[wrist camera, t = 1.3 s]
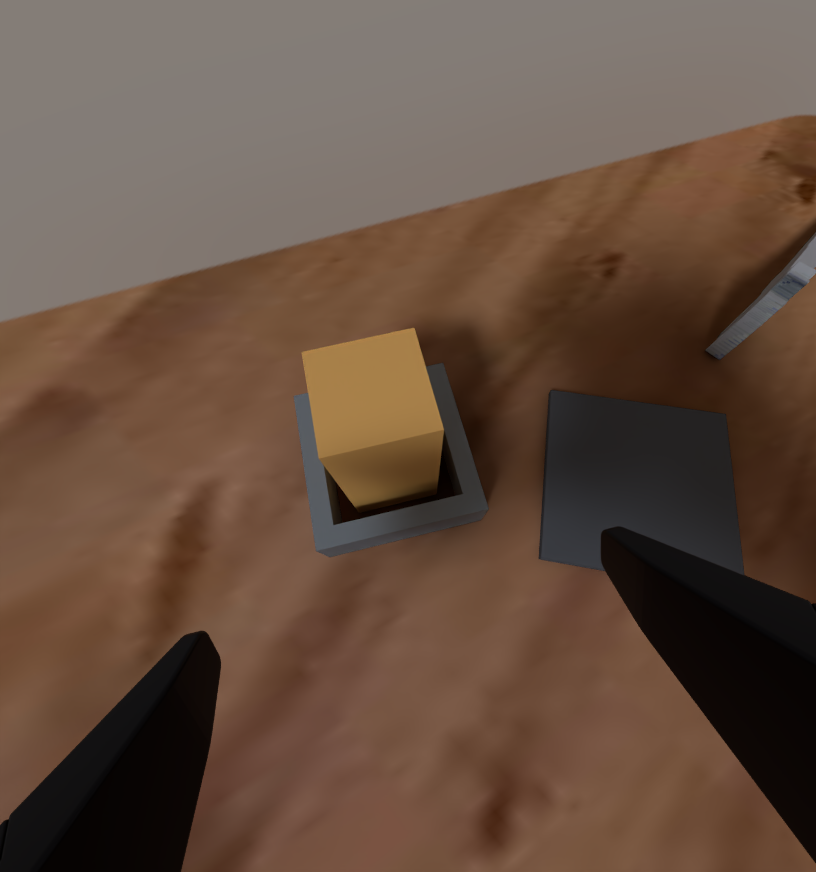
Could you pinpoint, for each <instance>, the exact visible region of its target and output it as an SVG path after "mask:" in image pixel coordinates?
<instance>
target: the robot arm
mask: <svg viewBox="0 0 816 872" xmlns="http://www.w3.org/2000/svg"><path fill="white" fill-rule="evenodd" d="M601 563H602V565H603V568H604V570H605V571H606V573H607V575H608V576H609V578H610V580H611V581H612V583H613V585H614V586H615V588H616V590H617V591H618V593H619V595H620V596H621V598H622V599H623V601H624V603H625V604H626V606H627V608H628V609H629V611H630V613H631V614H632V616H633V618H634V619H635V621H636V622H637V624H638V626H639V627H640V629H641V630H642V632H643V633H644V634H645V636H646V637H647V639H648V640H649V641H650V643H651V644H652V645H653V647H654V648H655V649H656V651H657V652H658V653H659V655H660V656H661V657H662V659H663V660H664V661H665V663H666V664H667V665H668V667H669V668H670V669H671V671H672V672H673V673H674V675H675V676H676V677H677V679H678V680H679V681H680V683H681V684H682V685H683V687H684V688H685V689H686V691H687V692H688V693H689V695H690V696H691V697H692V699H693V700H694V701H695V703H696V704H697V705H698V707H699V708H700V709H701V711H702V712H703V713H704V715H705V716H706V717H707V719H708V720H709V721H710V723H711V724H712V725H713V727H714V728H715V729H716V731H717V732H718V733H719V735H720V736H721V737H722V739H723V740H724V741H725V743H726V744H727V745H728V747H729V748H730V750H731V751H732V752H733V754H734V755H735V756H736V758H737V759H738V760H739V762H740V763H741V764H742V766H743V767H744V768H745V770H746V771H747V772H748V774H749V775H750V776H751V778H752V779H753V780H754V782H755V783H756V784H757V786H758V787H759V788H760V790H761V791H762V792H763V794H764V795H765V796H766V798H767V799H768V800H769V802H770V803H771V804H772V806H773V807H774V808H775V810H776V811H777V812H778V814H779V815H780V816H781V818H782V819H783V820H784V822H785V823H786V824H787V826H788V827H789V828H790V830H791V831H792V832H793V834H794V835H795V836H796V838H797V839H798V840H799V842H800V843H801V844H802V846H803V847H804V848H805V850H806V851H807V852H808V854H809V855H810V856H811V858H812V859H813V860H814V862H815V863H816V604H815V603H813V604H811V603H810V602H809V601H808V600H805V599H803V598H800V597H798V596H795V595H793V594H790V593H788V592H785V591H783V590H780V589H778V588H775V587H772V586H770V585H767V584H765V583H762V582H760V581H757V580H755V579H752V578H750V577H747V576H745V575H742V574H740V573H737V572H735V571H732V570H730V569H727V568H725V567H722V566H720V565H717V564H715V563H712V562H710V561H707V560H704V559H702V558H699V557H697V556H694V555H692V554H689V553H687V552H684V551H682V550H679V549H677V548H674V547H672V546H669V545H667V544H664V543H662V542H659V541H657V540H654V539H652V538H649V537H647V536H644V535H642V534H639V533H637V532H634V531H631V530H629V529H626V528H624V527H621V526H616V527H612V528H608V529H605V530H603V531H602V532H601ZM220 670H221V659H220V656H219V654H218V652H217V650H216V648H215V646H214V644H213V642H212V641H211V639H210V637H209V635H208V634H207V633H206V632H205V631H198V632H194V633H190V634H187V635H184V636H183V637H182V638H181V639H180V640H179V641H178V642H177V643H176V644H175V645H174V646H173V647H172V648H171V649H170V650H169V651H168V652H167V653H166V654H165V655H164V656H163V657H162V658H161V659H160V660H159V661H158V663H157V664H156V665H155V666H154V667H153V668H152V669H151V670H150V671H149V672H148V673H147V674H146V675H145V676H144V677H143V678H142V679H141V680H140V681H139V682H138V683H137V684H136V685H135V686H134V687H133V688H132V689H131V690H130V691H129V693H128V694H127V695H126V696H125V697H124V698H123V699H122V700H121V701H120V702H119V703H118V704H117V705H116V706H115V707H114V708H113V709H112V710H111V711H110V712H109V713H108V714H107V715H106V716H105V717H104V718H103V719H102V720H101V721H100V722H99V724H98V725H97V726H96V727H95V728H94V729H93V730H92V731H91V732H90V733H89V734H88V735H87V736H86V737H85V738H84V739H83V740H82V741H81V742H80V743H79V744H78V745H77V746H76V747H75V748H74V749H73V750H72V751H71V752H70V753H69V755H68V756H67V757H66V758H65V759H64V760H63V761H62V762H61V763H60V764H59V765H58V766H57V767H56V768H55V769H54V770H53V771H52V772H51V773H50V774H49V775H48V776H47V777H46V778H45V779H44V780H43V781H42V782H41V783H40V784H39V786H38V787H37V788H36V789H35V790H34V791H33V792H32V793H31V794H30V795H29V796H28V797H27V798H26V799H25V800H24V801H23V802H22V803H21V804H20V805H19V806H18V807H17V808H16V809H15V810H14V811H13V812H12V813H11V815H10V817H9V819H8V820H5V821H4V822H3V823H2V824H1V825H0V872H181V869H182V865H183V861H184V856H185V852H186V848H187V844H188V839H189V835H190V831H191V826H192V822H193V818H194V813H195V809H196V805H197V801H198V796H199V792H200V788H201V783H202V779H203V775H204V770H205V766H206V762H207V758H208V753H209V748H210V743H211V737H212V731H213V723H214V716H215V708H216V700H217V693H218V685H219V678H220Z"/></svg>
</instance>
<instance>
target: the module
mask: <svg viewBox="0 0 816 872" xmlns="http://www.w3.org/2000/svg"><path fill="white" fill-rule="evenodd" d="M302 357H303V363H304V369H305V376H306V382H307V388H308V395H309V401H310V407H311V413H312V420H313V426H314V432H315V438H316V445H317V451H318V457H319V460H320V461H321V462H322V464H323V465H324V466H325V468H326V469H327V470H328V472H329V473H330V474H331V476H332V477H333V478H334V480H335V481H336V482H337V484H338V485H339V487H340V488H341V489H342V491H343V492H344V493H345V495H346V496H347V497H348V499H349V500H350V501H351V503H352V504H353V505H354V507H355V508H356V509H357V511H358V512H359V513H361V512H365V511H369V510H373V509H377V508H382V507H386V506H390V505H394V504H398V503H402V502H407V501H411V500H415V499H419V498H423V497H427V496H432V495H436V494H437V486H438V478H439V469H440V460H441V452H442V443H443V434H444V428H443V424H442V421H441V417H440V414H439V411H438V407H437V404H436V400H435V397H434V393H433V390H432V387H431V383H430V380H429V376H428V373H427V369H426V366H425V363H424V359H423V356H422V352H421V349H420V346H419V342H418V339H417V335H416V332H415V328H410V329H406V330H401V331H396V332H392V333H387V334H383V335H378V336H373V337H369V338H364V339H360V340H355V341H350V342H346V343H341V344H337V345H332V346H327V347H323V348H318V349H314V350H309V351H304V352H302Z"/></svg>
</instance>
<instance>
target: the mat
mask: <svg viewBox="0 0 816 872" xmlns="http://www.w3.org/2000/svg"><path fill="white" fill-rule="evenodd" d="M616 526H621V527H624V528H626V529H629V530H631V531H634V532H637V533H639V534H642V535H644V536H647V537H649V538H652V539H654V540H657V541H659V542H662V543H664V544H667V545H669V546H672V547H674V548H677V549H679V550H682V551H684V552H687V553H689V554H692V555H694V556H697V557H699V558H702V559H704V560H707V561H710V562H712V563H715V564H717V565H720V566H722V567H725V568H727V569H730V570H732V571H735V572H737V573H740V574H742V575H744V568H743V559H742V551H741V542H740V533H739V524H738V516H737V507H736V498H735V489H734V481H733V472H732V463H731V455H730V446H729V437H728V428H727V420H726V414H722V413H715V412H708V411H700V410H693V409H686V408H679V407H671V406H664V405H657V404H650V403H642V402H635V401H628V400H621V399H613V398H606V397H599V396H591V395H584V394H577V393H570V392H562V391H555V390H551V391H550V393H549V400H548V416H547V432H546V449H545V465H544V481H543V497H542V514H541V530H540V546H539V559H541V560H546V561H552V562H558V563H563V564H569V565H574V566H580V567H585V568H591V569H597V570H602V571H605V570H604V568H603V565H602V563H601V532H602V531H603V530H605V529H608V528H612V527H616Z"/></svg>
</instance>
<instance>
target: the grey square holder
mask: <svg viewBox="0 0 816 872" xmlns="http://www.w3.org/2000/svg"><path fill="white" fill-rule="evenodd" d="M426 369H427V373H428V376H429V380H430V383H431V387H432V390H433V393H434V397H435V400H436V404H437V407H438V411H439V414H440V417H441V421H442V424H443V428H444V434H443V443H442V451H443V454H444V458H445V462H446V465H447V469H448V472H449V476H450V479H451V483H452V486H453V490H454V493H455V496H453V497H449V498H444V499H440V500H436V501H432V502H428V503H424V504H420V505H415V506H411V507H407V508H403V509H399V510H395V511H391V512H386V513H382V514H378V515H374V516H370V517H366V518H362V519H357V520H353V521H349V522H345V523H343V522H342V516H341V510H340V505H339V499H338V493H337V487H336V481H335V480H334V478H333V477H332V476H331V474H330V473H329V472H328V470H327V469H326V468H325V466H324V465H323V464H322V462H321V461H320V460H319V457H318V451H317V445H316V438H315V432H314V426H313V420H312V413H311V407H310V401H309V395H308V393H305V394H301V395H296V396H294V401H295V408H296V415H297V422H298V429H299V436H300V443H301V450H302V457H303V464H304V471H305V478H306V485H307V492H308V499H309V505H310V512H311V519H312V526H313V533H314V540H315V547H316V551H317V552H319V553H322V554H324V555H326V556H328V557H333V556H337V555H341V554H345V553H349V552H353V551H357V550H361V549H365V548H369V547H373V546H377V545H382V544H386V543H390V542H394V541H398V540H402V539H406V538H410V537H414V536H418V535H422V534H426V533H430V532H435V531H439V530H443V529H447V528H451V527H455V526H459V525H463V524H467V523H471V522H475V521H479V520H481V519H482V518H483V516H484V515H485V514H486V512H487V511H488V509H489V508H488V505H487V502H486V498H485V495H484V492H483V489H482V486H481V482H480V479H479V476H478V473H477V470H476V466H475V463H474V460H473V457H472V454H471V450H470V447H469V444H468V441H467V438H466V434H465V431H464V428H463V425H462V422H461V418H460V415H459V412H458V409H457V406H456V402H455V399H454V396H453V393H452V390H451V386H450V383H449V380H448V377H447V374H446V370H445V367H444V364H443V363H440V364H435V365H431V366H426Z"/></svg>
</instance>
